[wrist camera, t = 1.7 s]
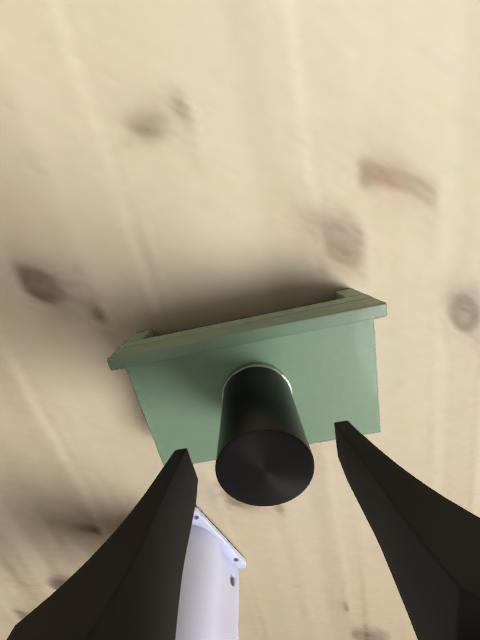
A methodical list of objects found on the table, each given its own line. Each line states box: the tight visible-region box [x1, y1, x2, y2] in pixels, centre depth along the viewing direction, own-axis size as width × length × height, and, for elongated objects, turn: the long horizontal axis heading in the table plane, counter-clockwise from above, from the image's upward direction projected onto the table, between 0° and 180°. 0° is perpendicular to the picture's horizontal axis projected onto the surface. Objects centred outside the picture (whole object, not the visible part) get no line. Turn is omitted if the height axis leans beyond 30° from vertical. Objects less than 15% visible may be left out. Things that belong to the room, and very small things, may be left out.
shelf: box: [107, 288, 387, 466], centre depth 18 cm, size 10×16×4 cm, turn 102°
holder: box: [215, 362, 314, 506], centre depth 14 cm, size 5×5×6 cm
